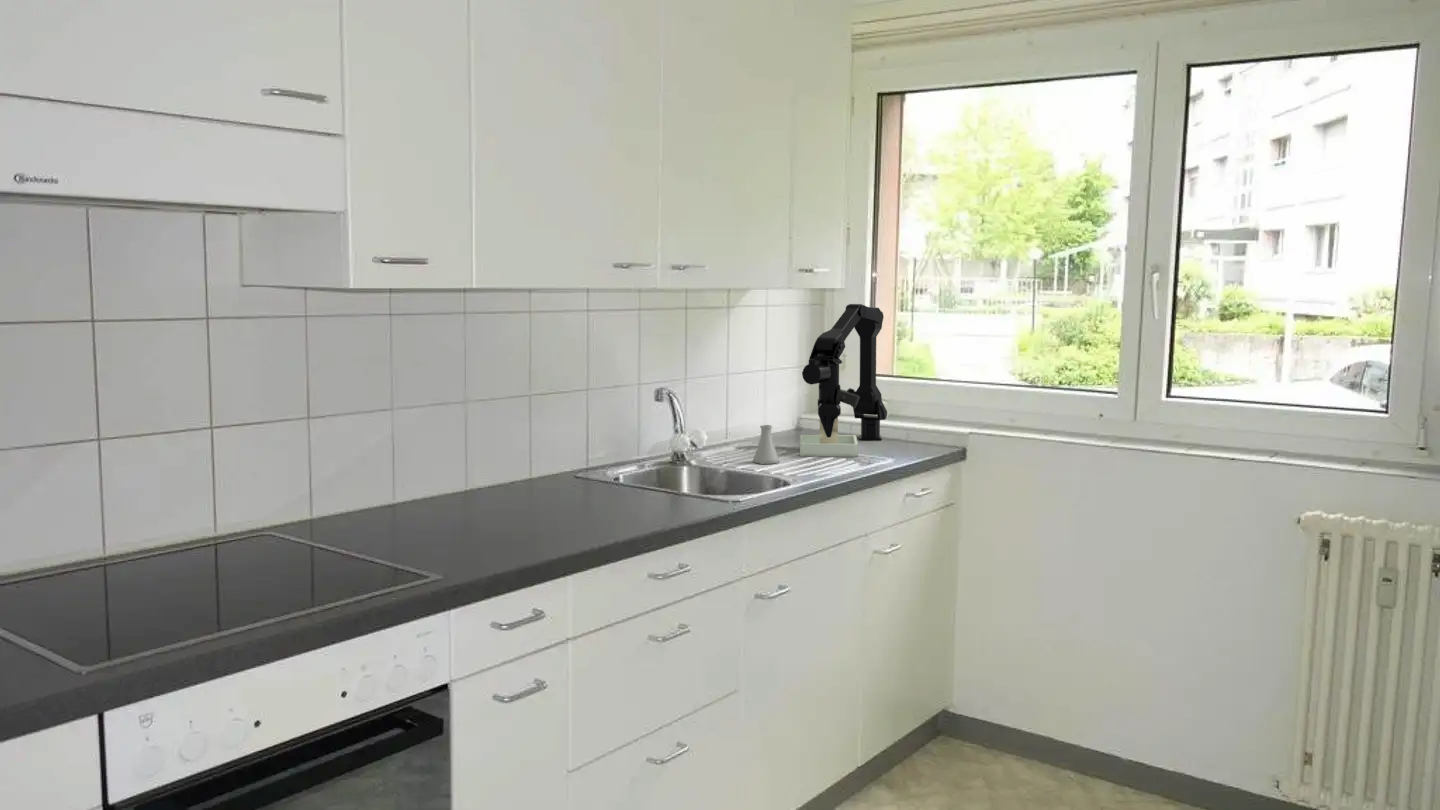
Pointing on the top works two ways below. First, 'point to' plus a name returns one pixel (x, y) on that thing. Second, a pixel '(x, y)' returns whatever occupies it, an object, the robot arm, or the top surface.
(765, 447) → the flask
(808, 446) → the sage bin
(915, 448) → the top surface
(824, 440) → the birch block
